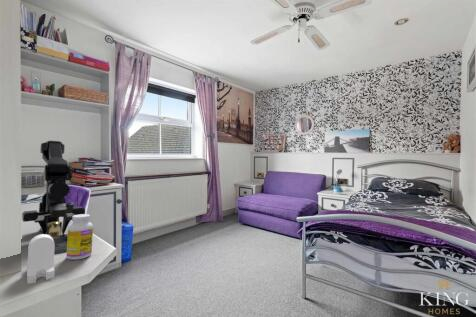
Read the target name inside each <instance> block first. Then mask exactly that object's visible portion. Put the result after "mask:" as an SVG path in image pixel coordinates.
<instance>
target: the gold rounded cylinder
mask: <svg viewBox="0 0 476 317" xmlns="http://www.w3.org/2000/svg"><path fill="white" fill-rule="evenodd" d="M62 225H63V221H59V222H50V223H48V224H47V232H46V234H47V235H50V236H57V235H62Z"/></svg>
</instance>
